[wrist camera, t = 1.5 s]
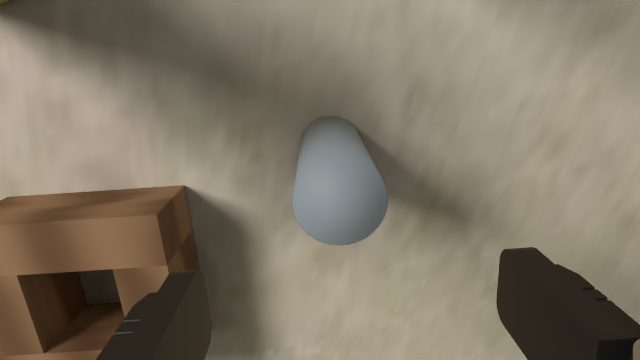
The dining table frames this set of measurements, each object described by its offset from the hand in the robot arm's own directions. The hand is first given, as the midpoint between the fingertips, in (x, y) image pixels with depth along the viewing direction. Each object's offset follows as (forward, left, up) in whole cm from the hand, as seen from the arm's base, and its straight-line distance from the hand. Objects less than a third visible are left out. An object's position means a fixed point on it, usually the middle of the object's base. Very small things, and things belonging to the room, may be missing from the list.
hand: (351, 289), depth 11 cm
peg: (0, 0, -16) cm, 16 cm away
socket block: (+16, +8, -16) cm, 24 cm away
